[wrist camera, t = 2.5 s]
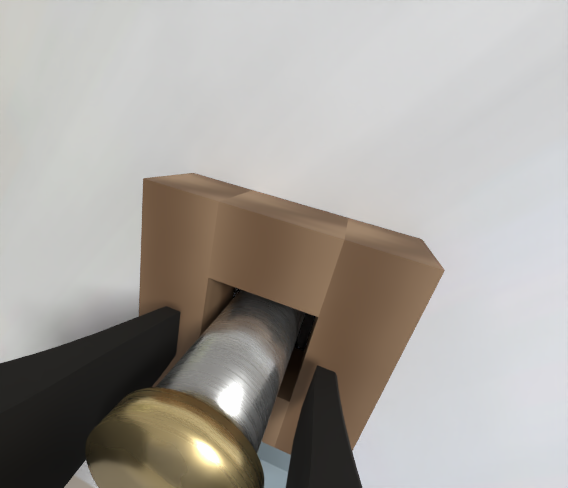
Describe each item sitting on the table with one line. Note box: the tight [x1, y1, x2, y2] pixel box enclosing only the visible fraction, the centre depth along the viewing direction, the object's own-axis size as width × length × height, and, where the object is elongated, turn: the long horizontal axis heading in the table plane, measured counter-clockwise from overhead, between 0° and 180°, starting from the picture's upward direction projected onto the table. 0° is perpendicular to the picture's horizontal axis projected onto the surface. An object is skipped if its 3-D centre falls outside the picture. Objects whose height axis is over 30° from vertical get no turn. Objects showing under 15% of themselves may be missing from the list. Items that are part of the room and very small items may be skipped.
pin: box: [85, 290, 305, 488], centre depth 9 cm, size 4×4×8 cm
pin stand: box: [139, 173, 445, 455], centre depth 12 cm, size 10×10×3 cm
